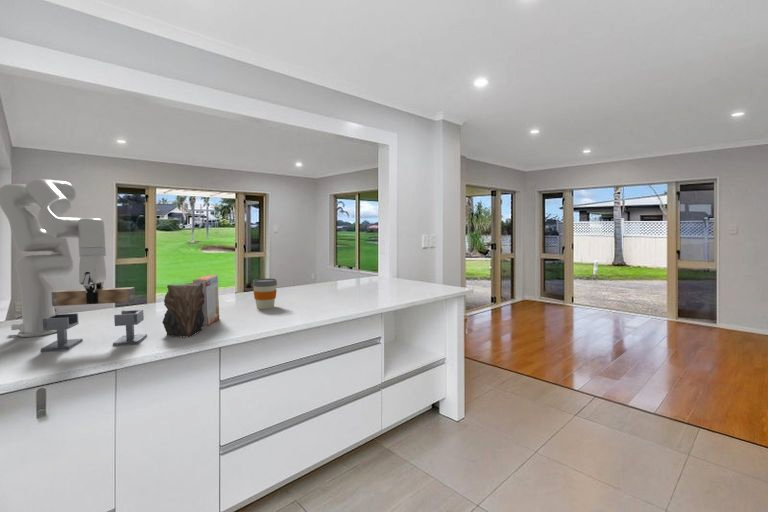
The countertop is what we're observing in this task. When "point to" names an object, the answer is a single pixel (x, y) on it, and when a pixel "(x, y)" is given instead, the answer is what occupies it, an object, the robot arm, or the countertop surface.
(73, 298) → the rail
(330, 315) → the countertop surface
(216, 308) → the cracker box
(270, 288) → the reusable coffee cup
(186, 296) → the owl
